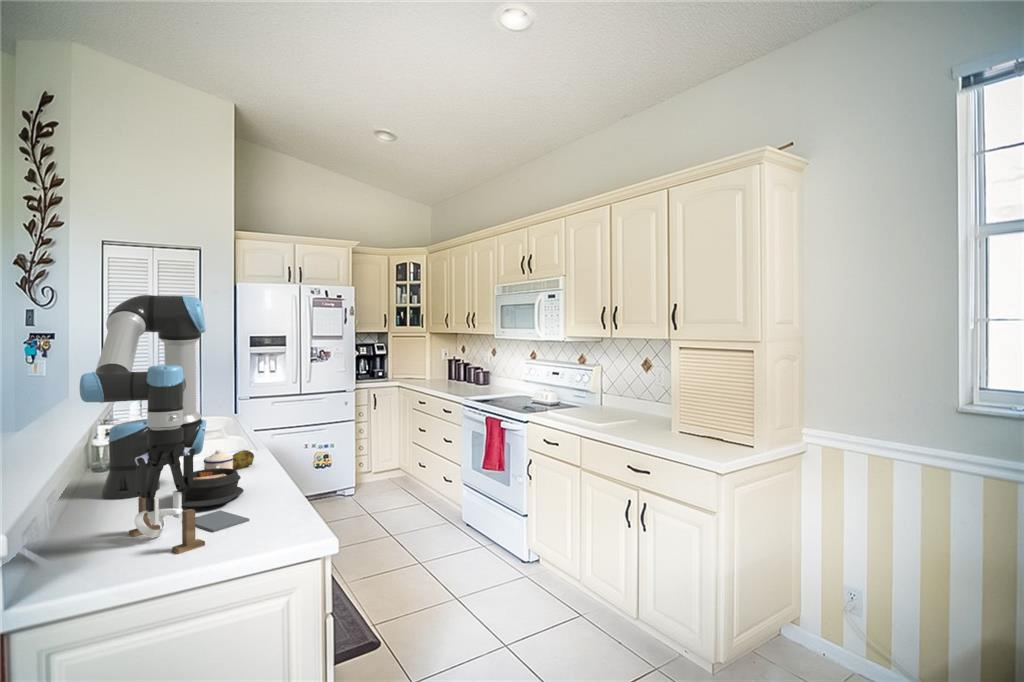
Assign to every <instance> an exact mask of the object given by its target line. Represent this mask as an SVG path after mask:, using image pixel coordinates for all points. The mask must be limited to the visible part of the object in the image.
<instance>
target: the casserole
mask: <svg viewBox="0 0 1024 682" xmlns="http://www.w3.org/2000/svg"><path fill="white" fill-rule="evenodd" d="M241 479H242V478H241V476H240V474H239V473H238V470H235V469H228V468H215V469H206V470H204V469H200V470H195V471H193V486H192V487H189V488H188V490H187V491H186V492H185V502H184V503H182V506H183V507H185V508H203V507H210V506H218V505H222V504H226V503H228V502H230V501H232V500H233V499H234V498H236V497H238V496H240V495H242V494H243V493H244V491H245V490H244V488H242V487H241V486H238V485H239V481H240V480H241Z"/></svg>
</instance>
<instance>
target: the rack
mask: <svg viewBox="0 0 1024 682" xmlns="http://www.w3.org/2000/svg"><path fill="white" fill-rule="evenodd" d="M143 511H146V499H145V498H141V497H138V513H140V512H143ZM195 517H196V510H195V509H193V508H190V509H189V508H188V509H185V510H184V509H183V511H182V518H181V519H182V520H181V524H182V525H181V528H182V529H181V542H182V543H179V544H177V545H174V546H171V551H172V553H176V554H179V555H180V554H184V553H186V552H188V551H192V550H195V549H198V548H200V547H204V546H206V541H205V540H203V539H200V538H196V526H195ZM143 520H144V523H145V524H146V525H147V526H148V527H149V528H151V529H153V530H160V529H161V525H160V524H158V525H153V524H151V523H150V519H149V518H148V513H145V514H144V516H143ZM128 535H129V536H132V537H137V536H138V537H139V536H142V535H143V534H142V533H141V532H140V531H139V530H138V529H137V527H135V528H134V529H130V530H129V529H128Z"/></svg>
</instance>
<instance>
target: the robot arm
mask: <svg viewBox="0 0 1024 682" xmlns="http://www.w3.org/2000/svg"><path fill="white" fill-rule="evenodd" d="M105 325H106V329H107V333H106V337H105V340H104V343H103V347H102V349H101V353H100V356H99V359H98V362H97V365H96V369H95V371H93V372H86V373H83V374H82V375H81V376H80V379H79V380H80V381H79V395H80V399H81V400H82V401H83V402H85V403H100V404H101V403H102V404H103V403H115V402H116V403H117V402H132V401H133V402H134V401H137V402H138V401H140V402H141V401H147V413H146V415H147V417H146V418H144V419H143V418H142V419H136V420H132V421H131V420H130V421H126V422H121V423H118V424H114V425H113V426H112V427H111V428H110V429H109V436H108V447H109V448H108V455H109V456H108V457H109V458H108V459H109V460H108V461H109V462H108V464H109V465H108V468H109V469H108V475H107V477H106V479H105V483H104V485H103V487H102V491H101V493H102V495H101V496H102V498H103V499H105V500H111V501H113V500H114V501H115V500H116V501H117V500H118V501H119V500H128V499H129V500H130V499H134V498H135V499H136V498H139V497H141V498H145V499H146V511H148V512H150V523H151V524H153V525H160V524H159V522H160V521H159V509H160V508H159V507H160V506H159V504H160V503H159V501H160V500H159V499H160V498H159V497H158V496H156V494H157V491H159V490H160V488H161V486H160V485H161V484H160V483H161V482H160V477H161V473H162V471H163V470H164V467H165V466H167V465H168V466H169V467H170V471H171V474H172V479H173V482H174V485H175V488H176V490H173V491H172V509H176V508H180V509H183V507H182V506H183V505H182V503H184V502H185V492H186V491H187V490H188V488H189V487H192V486H193V472H194V457H195V456H197V455H199V454H201V452H202V451H203V449H204V448H203V447H204V443H205V436H206V427H207V420H205V419H202V414H201V413H199V412H198V411H197V387H196V386H197V385H196V384H197V380H196V379H197V378H196V377H197V373H196V368H197V367H196V364H197V363H196V362H197V361H196V343H197V342H198V341H199V340H200V339H201V337H202V336H201V334H203V333H205V332H206V321H205V313H204V308H203V304H202V300H200V299H199V298H198V297H195V296H187V295H152V294H143V295H137V296H133V297H131V298H129V299H127V300H125V301H122V302H121V303H119V304H118V305H117V306H116V307H114V308H113V310H111V312H110V313H109V315H108V317H107V320H106V322H105ZM144 333H158V339H159V340H160V341H161V342H163V347H164V351H163V353H164V365H163V364H161V365H160V364H159V365H151V366H149V367H148V368H147V371H133V367H134V363H135V358H136V354H137V350H138V344H139V340H140V337H141V336H142V335H143V334H144ZM180 458H182V459H183V461H182V462H183V465H182V467H183V468H182V469H183V471H182V469H181V461H180ZM172 517H173V518H175V519H182V513H181V514H180V515H172Z"/></svg>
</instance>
